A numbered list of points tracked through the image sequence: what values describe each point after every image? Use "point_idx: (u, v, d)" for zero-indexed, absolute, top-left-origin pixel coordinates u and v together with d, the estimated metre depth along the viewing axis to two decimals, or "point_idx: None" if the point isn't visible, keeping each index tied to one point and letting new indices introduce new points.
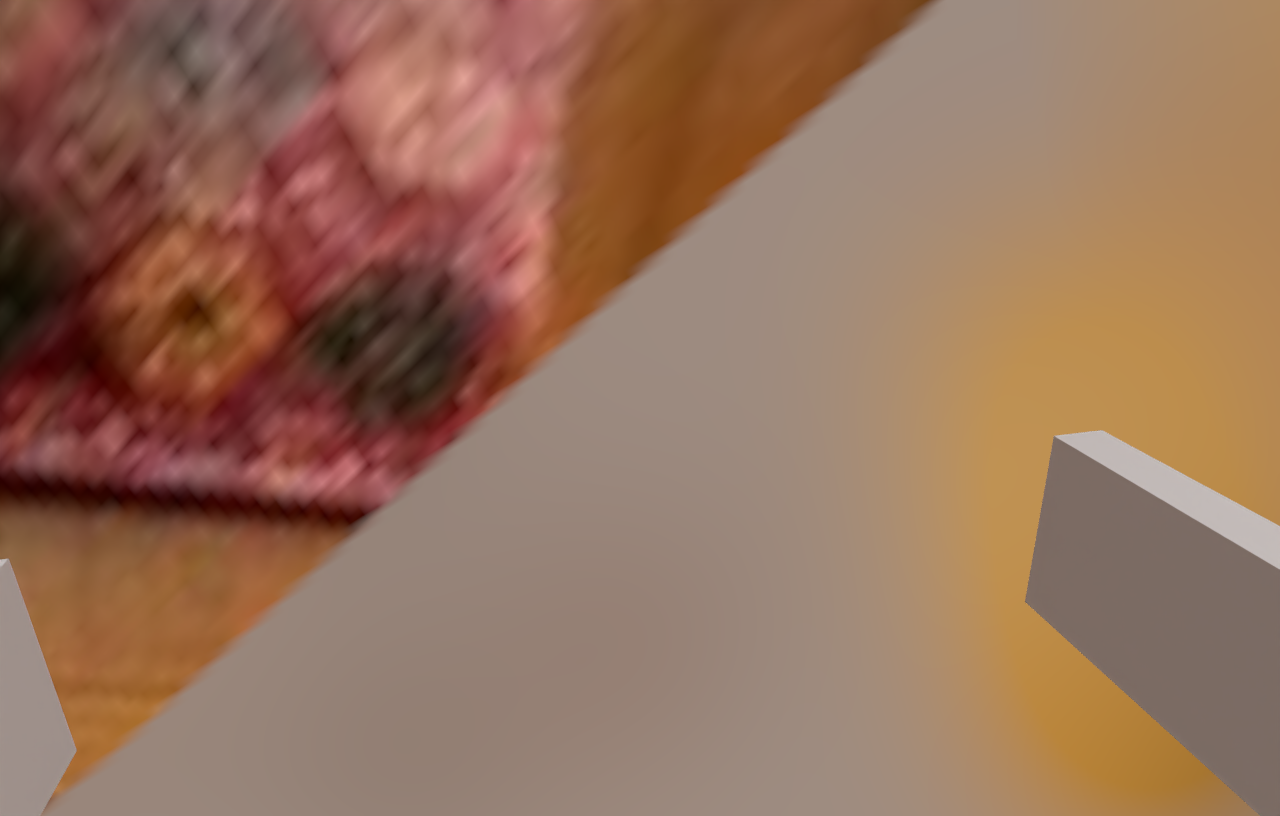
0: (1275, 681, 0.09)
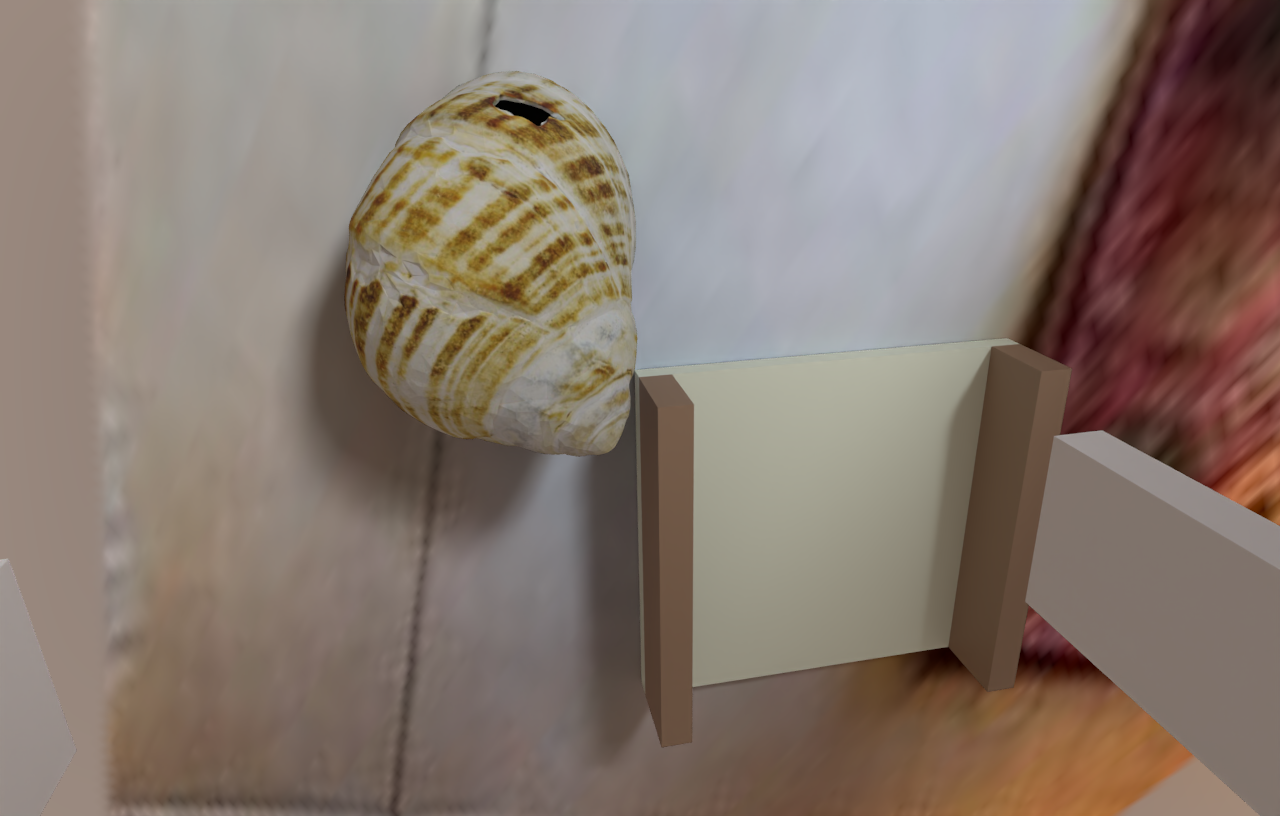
0: (1275, 681, 0.09)
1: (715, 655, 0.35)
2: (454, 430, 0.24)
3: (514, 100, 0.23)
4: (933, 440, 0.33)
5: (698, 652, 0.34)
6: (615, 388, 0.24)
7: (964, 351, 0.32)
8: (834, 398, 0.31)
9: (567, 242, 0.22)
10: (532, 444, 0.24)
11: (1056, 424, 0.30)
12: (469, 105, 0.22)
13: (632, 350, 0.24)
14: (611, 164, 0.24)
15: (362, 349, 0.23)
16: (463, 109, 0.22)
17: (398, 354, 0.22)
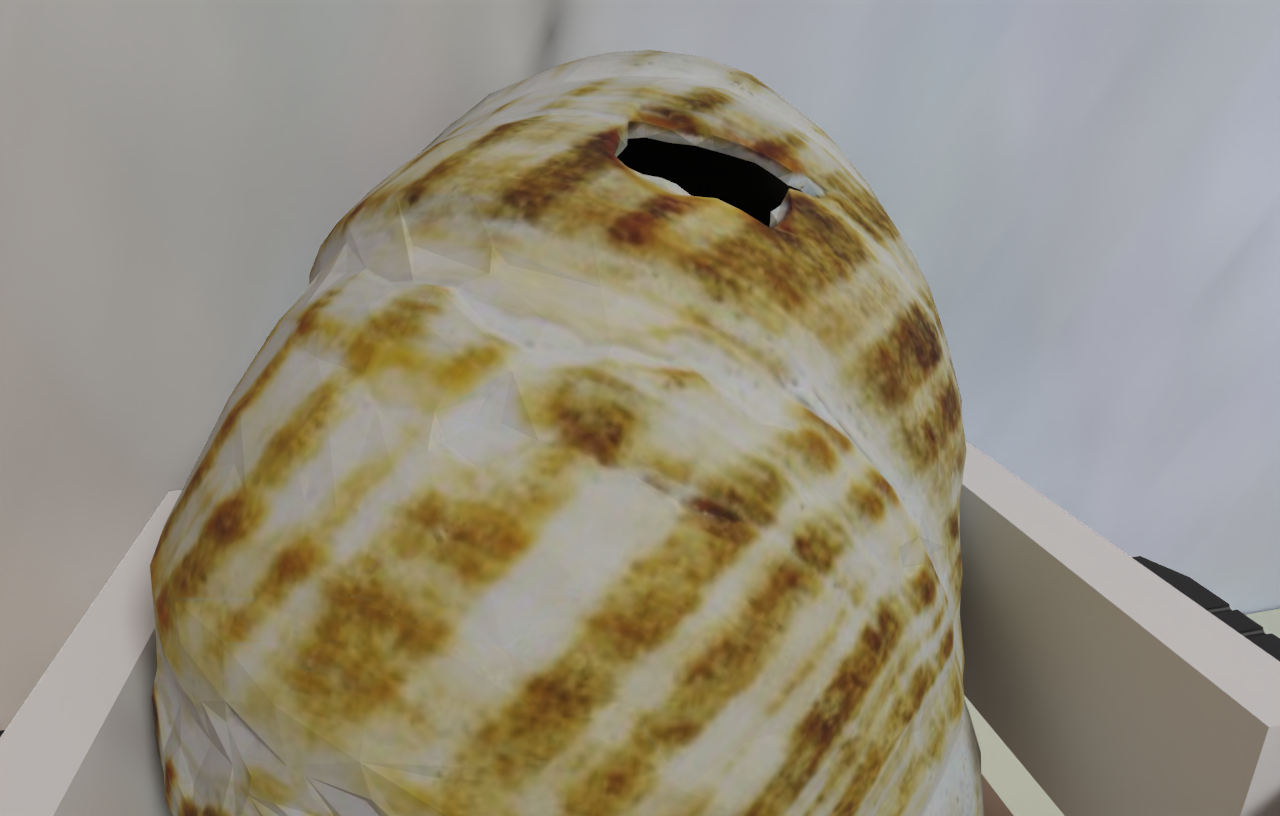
0: (1020, 632, 0.09)
1: None
2: None
3: (672, 138, 0.07)
4: None
5: None
6: None
7: None
8: None
9: (885, 627, 0.06)
10: None
11: None
12: (540, 165, 0.06)
13: None
14: (937, 313, 0.08)
15: None
16: (520, 180, 0.06)
17: None
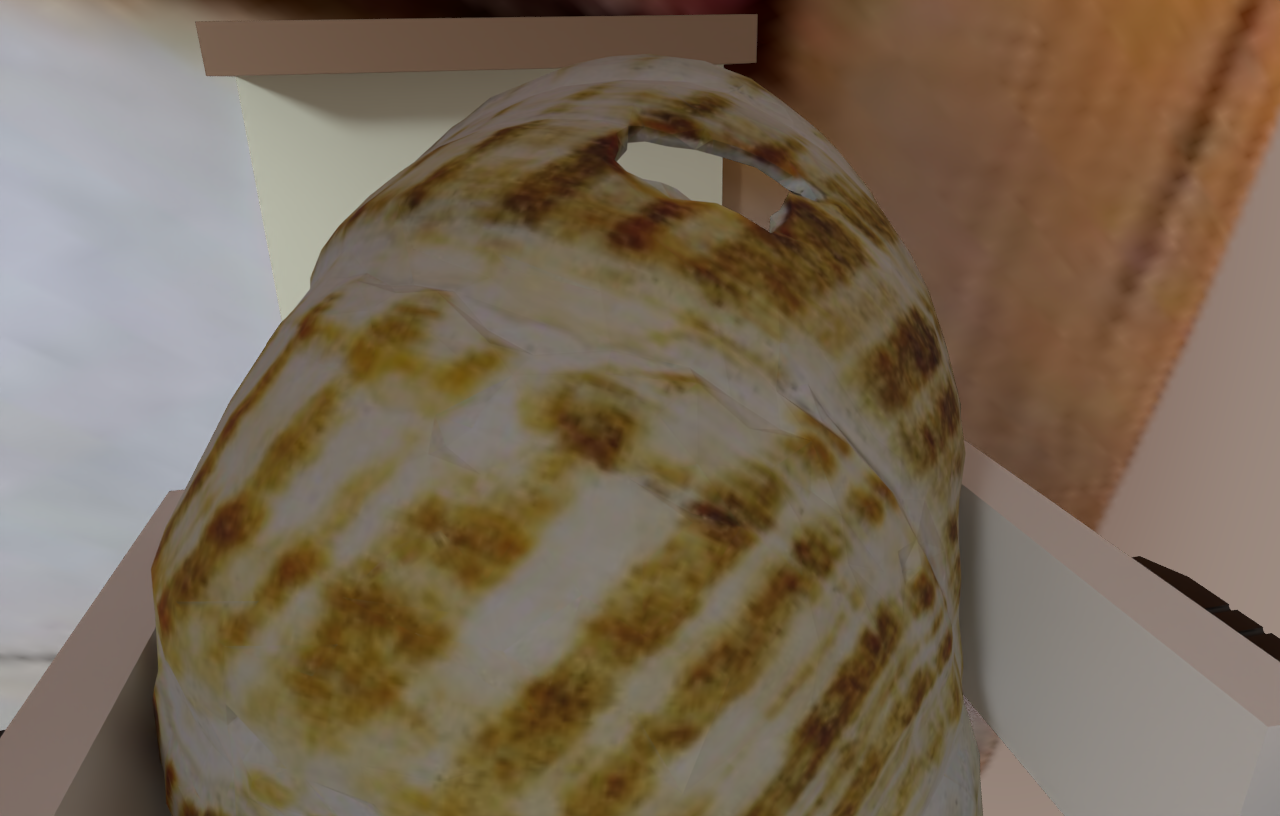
0: (1020, 632, 0.09)
1: None
2: None
3: (672, 143, 0.07)
4: (385, 145, 0.24)
5: None
6: None
7: (248, 118, 0.23)
8: None
9: (884, 631, 0.06)
10: None
11: (290, 30, 0.20)
12: (540, 169, 0.06)
13: None
14: (936, 316, 0.08)
15: None
16: (521, 184, 0.06)
17: None
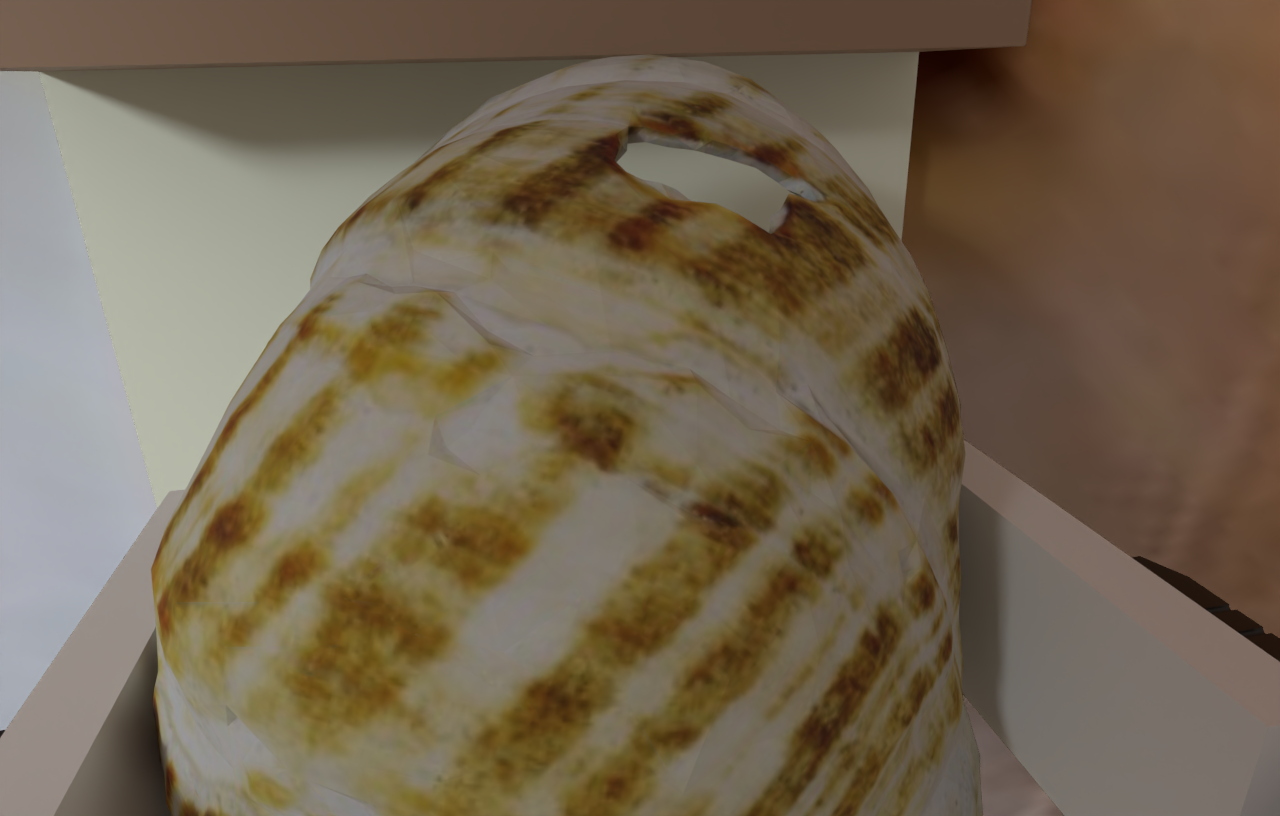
0: (1020, 632, 0.09)
1: None
2: None
3: (672, 143, 0.07)
4: (328, 196, 0.14)
5: None
6: None
7: (70, 149, 0.13)
8: None
9: (884, 631, 0.06)
10: None
11: None
12: (540, 170, 0.06)
13: None
14: (936, 317, 0.08)
15: None
16: (521, 185, 0.06)
17: None
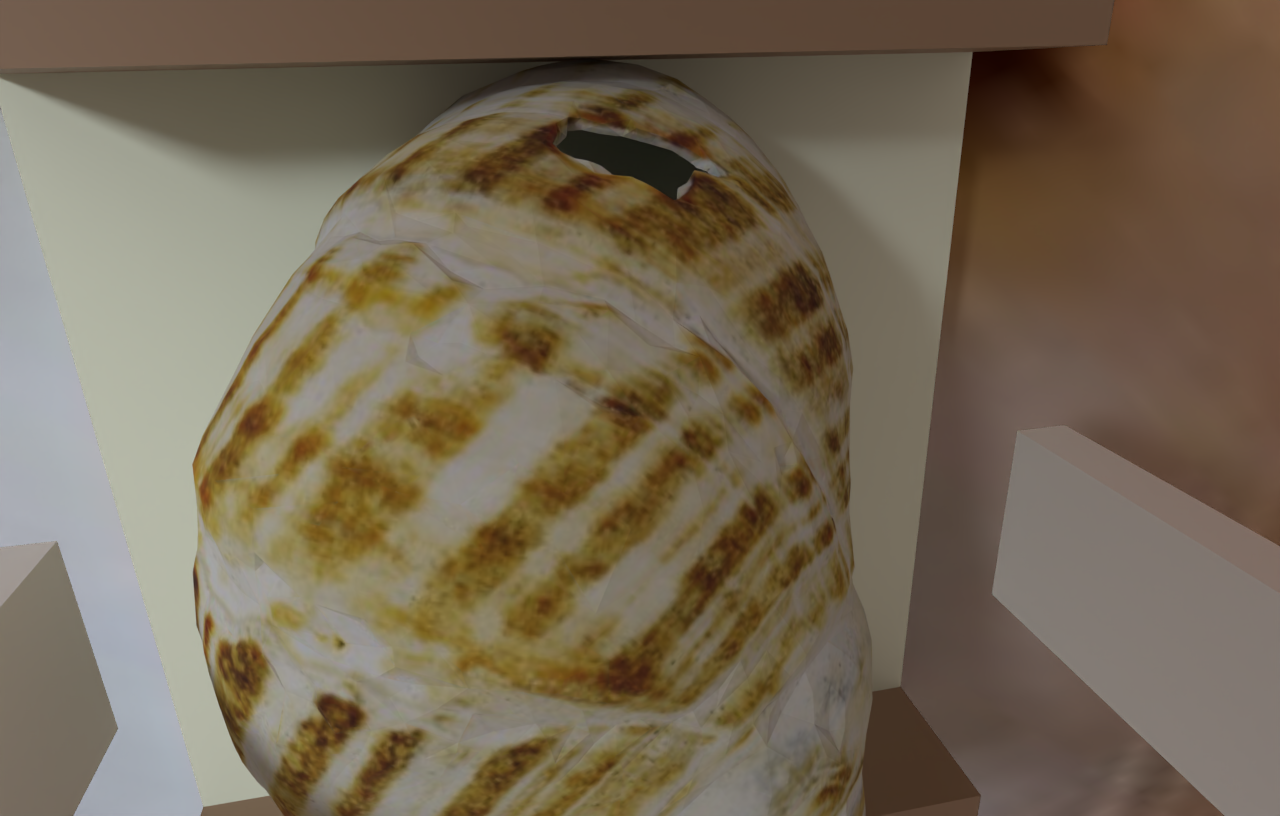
0: (1221, 668, 0.09)
1: None
2: None
3: (603, 131, 0.09)
4: (319, 213, 0.12)
5: None
6: (851, 804, 0.10)
7: (28, 161, 0.11)
8: None
9: (762, 508, 0.08)
10: None
11: None
12: (494, 151, 0.08)
13: None
14: (826, 273, 0.10)
15: (241, 760, 0.09)
16: (478, 162, 0.08)
17: (322, 813, 0.08)
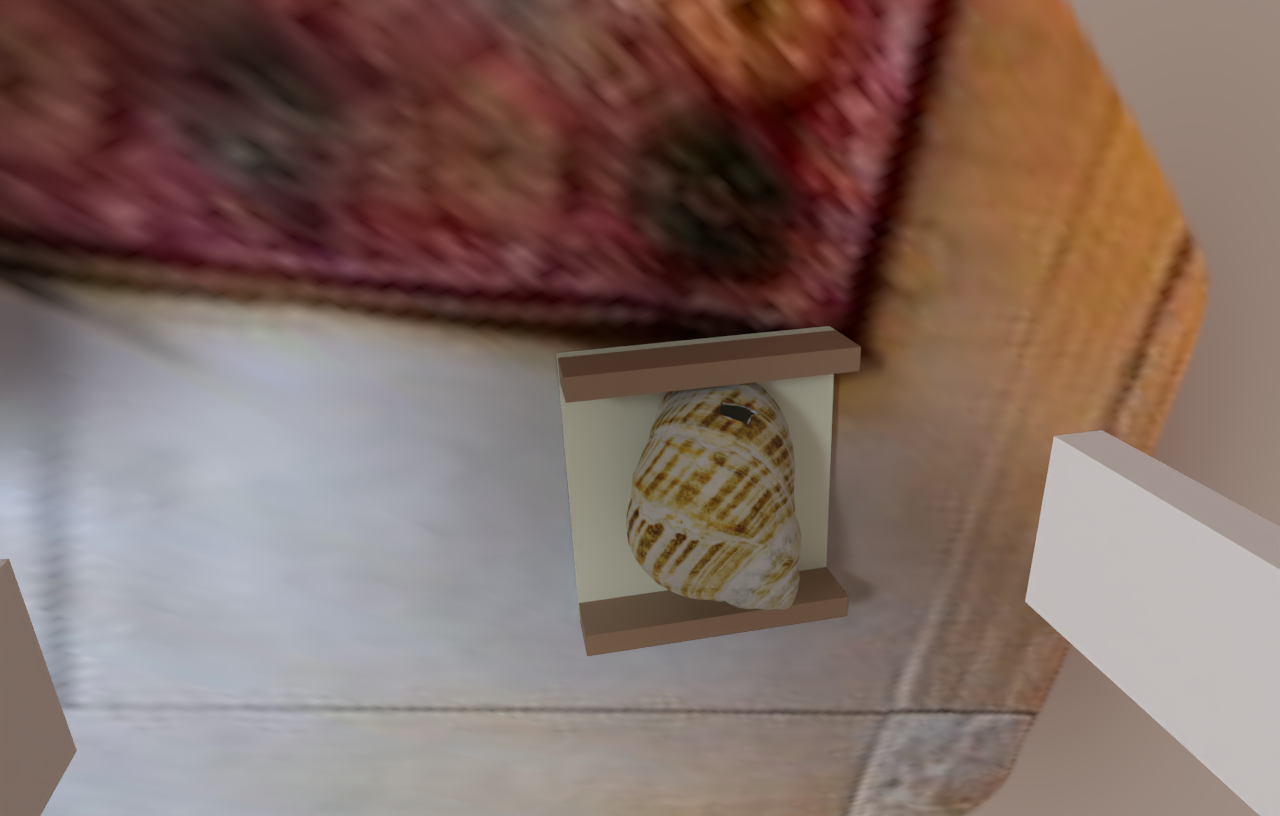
0: (1275, 681, 0.09)
1: (802, 542, 0.46)
2: (693, 597, 0.40)
3: (729, 404, 0.38)
4: (637, 411, 0.41)
5: None
6: (793, 571, 0.39)
7: (563, 402, 0.41)
8: (599, 494, 0.43)
9: (768, 494, 0.37)
10: (743, 605, 0.39)
11: (611, 377, 0.37)
12: (707, 415, 0.38)
13: (800, 544, 0.40)
14: (785, 433, 0.39)
15: (644, 556, 0.38)
16: (704, 418, 0.37)
17: (670, 563, 0.38)
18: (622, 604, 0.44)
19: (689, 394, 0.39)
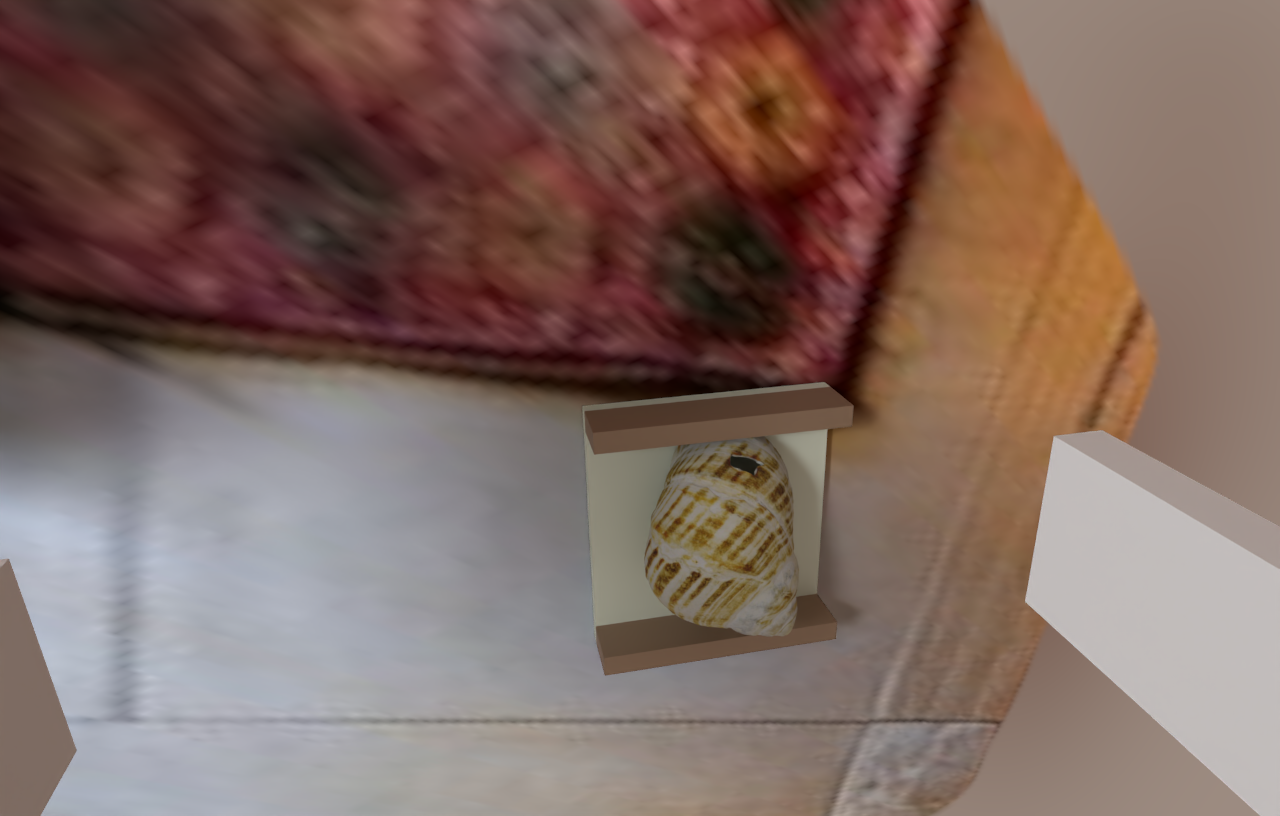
0: (1275, 681, 0.09)
1: None
2: (703, 625, 0.45)
3: (737, 456, 0.43)
4: (653, 457, 0.46)
5: None
6: (792, 602, 0.44)
7: (588, 449, 0.45)
8: (617, 530, 0.48)
9: (772, 536, 0.42)
10: (748, 633, 0.44)
11: (634, 432, 0.42)
12: (719, 467, 0.42)
13: (798, 578, 0.45)
14: (786, 481, 0.44)
15: (661, 590, 0.43)
16: (716, 470, 0.42)
17: (686, 597, 0.43)
18: (635, 628, 0.49)
19: (702, 445, 0.44)
